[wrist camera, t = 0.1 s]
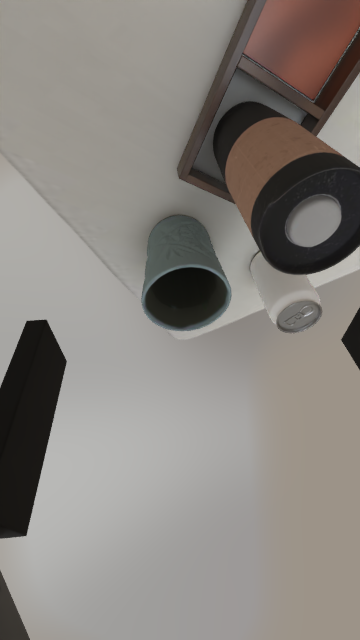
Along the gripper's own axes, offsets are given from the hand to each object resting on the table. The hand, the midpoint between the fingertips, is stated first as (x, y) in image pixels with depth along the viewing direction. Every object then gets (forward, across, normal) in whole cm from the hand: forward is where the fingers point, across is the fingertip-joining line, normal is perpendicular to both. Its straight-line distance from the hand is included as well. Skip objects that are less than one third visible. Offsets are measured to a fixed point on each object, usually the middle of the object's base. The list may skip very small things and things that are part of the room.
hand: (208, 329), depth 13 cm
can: (+28, +15, -17) cm, 36 cm away
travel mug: (+28, +8, 0) cm, 29 cm away
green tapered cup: (+28, +1, -13) cm, 31 cm away
